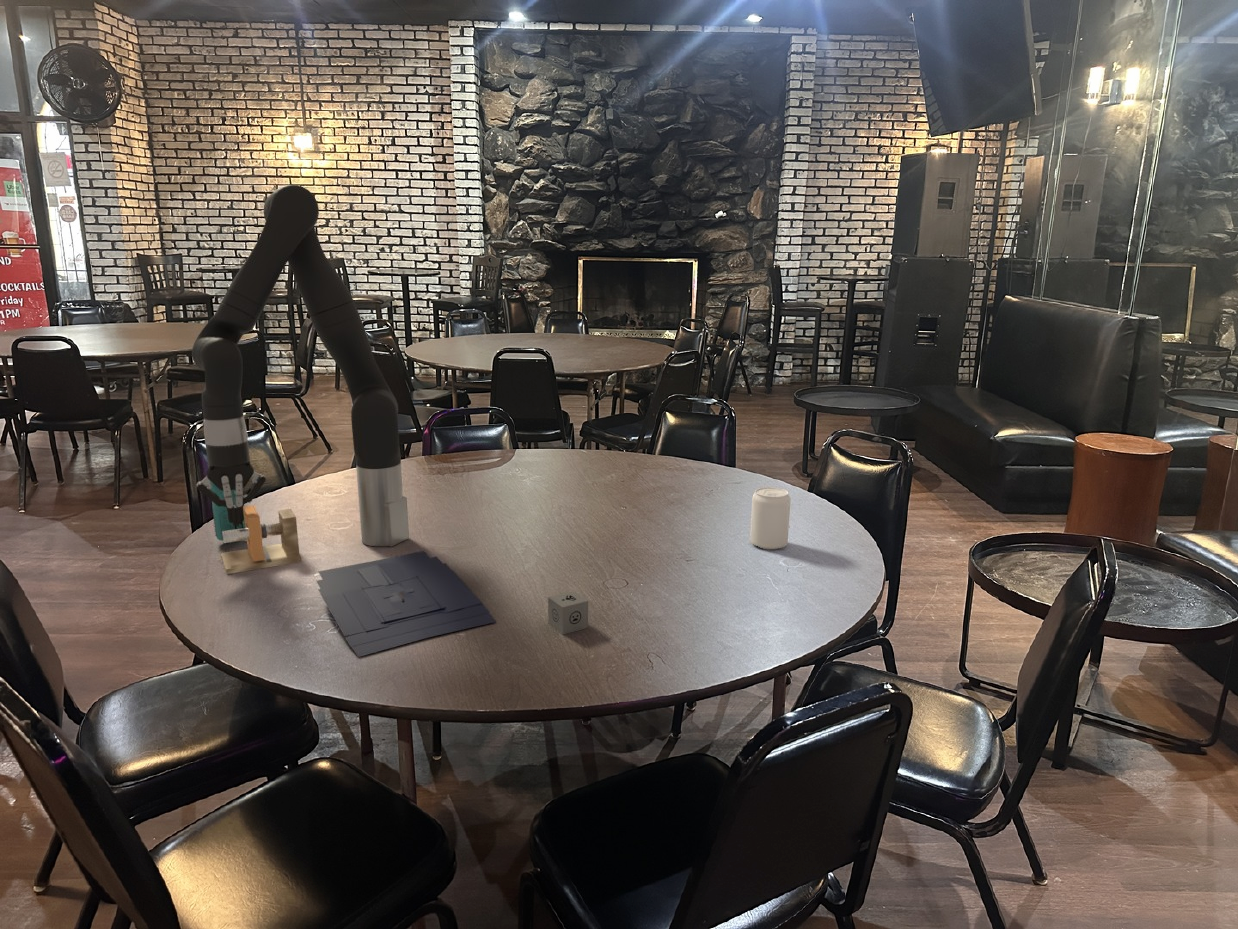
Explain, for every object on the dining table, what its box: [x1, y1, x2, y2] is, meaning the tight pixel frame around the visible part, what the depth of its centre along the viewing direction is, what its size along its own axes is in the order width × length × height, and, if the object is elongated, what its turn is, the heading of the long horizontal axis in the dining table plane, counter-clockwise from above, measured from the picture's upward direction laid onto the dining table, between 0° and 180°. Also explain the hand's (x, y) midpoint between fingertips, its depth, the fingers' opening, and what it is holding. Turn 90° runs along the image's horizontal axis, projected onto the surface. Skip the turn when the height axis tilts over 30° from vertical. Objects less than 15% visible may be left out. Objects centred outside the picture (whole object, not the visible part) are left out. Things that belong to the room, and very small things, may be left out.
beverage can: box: [749, 486, 791, 550], centre depth 182 cm, size 8×8×12 cm
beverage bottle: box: [210, 481, 246, 542], centre depth 179 cm, size 6×7×20 cm
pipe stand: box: [220, 508, 303, 575], centre depth 171 cm, size 14×10×9 cm
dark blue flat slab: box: [316, 550, 497, 658], centre depth 150 cm, size 24×30×4 cm
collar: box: [243, 504, 264, 562], centre depth 170 cm, size 2×9×9 cm, turn 29°
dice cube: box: [547, 590, 589, 636], centre depth 143 cm, size 5×5×5 cm
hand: (236, 524), depth 168 cm, fingers closed
